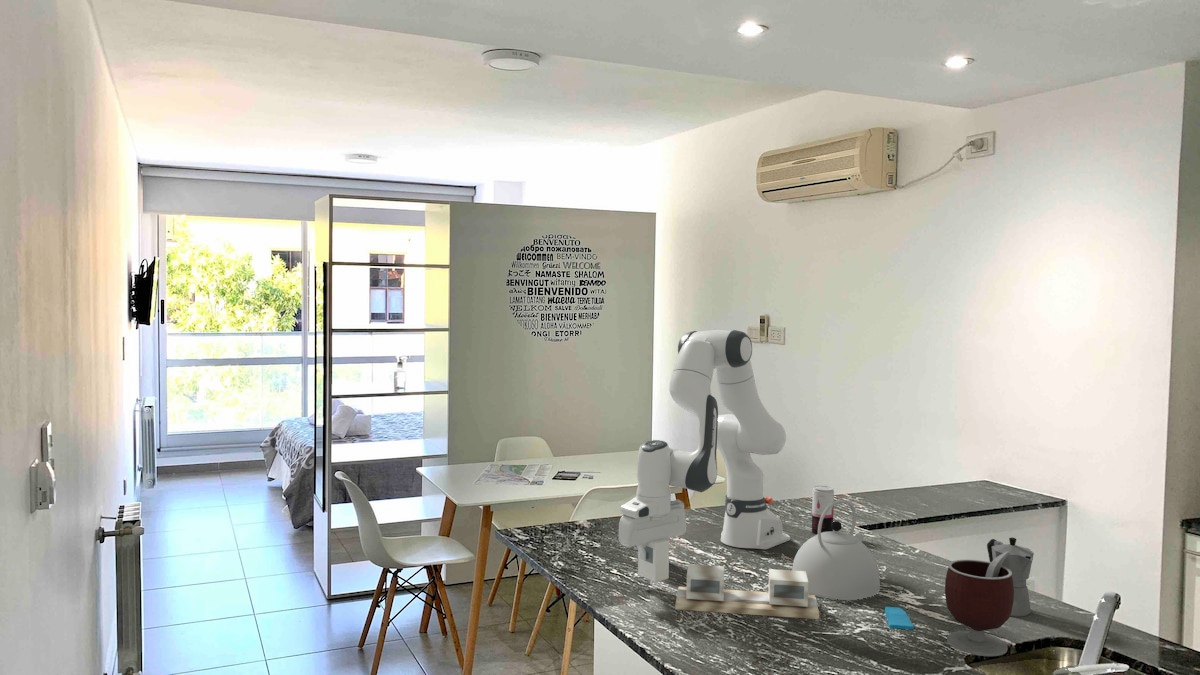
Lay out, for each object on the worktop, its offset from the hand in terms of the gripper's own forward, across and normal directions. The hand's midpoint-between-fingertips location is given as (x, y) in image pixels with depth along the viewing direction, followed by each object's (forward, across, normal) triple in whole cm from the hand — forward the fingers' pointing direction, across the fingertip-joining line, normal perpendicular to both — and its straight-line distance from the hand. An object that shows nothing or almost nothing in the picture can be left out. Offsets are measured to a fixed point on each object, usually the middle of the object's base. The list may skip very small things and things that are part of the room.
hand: (653, 557), depth 224 cm
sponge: (+9, -35, +49) cm, 61 cm away
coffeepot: (+9, -63, +60) cm, 88 cm away
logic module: (+5, 0, 0) cm, 5 cm away
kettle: (+9, -43, +25) cm, 51 cm away
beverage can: (+10, -76, -8) cm, 78 cm away
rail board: (+8, -11, +22) cm, 26 cm away
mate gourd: (+9, -37, +68) cm, 78 cm away
